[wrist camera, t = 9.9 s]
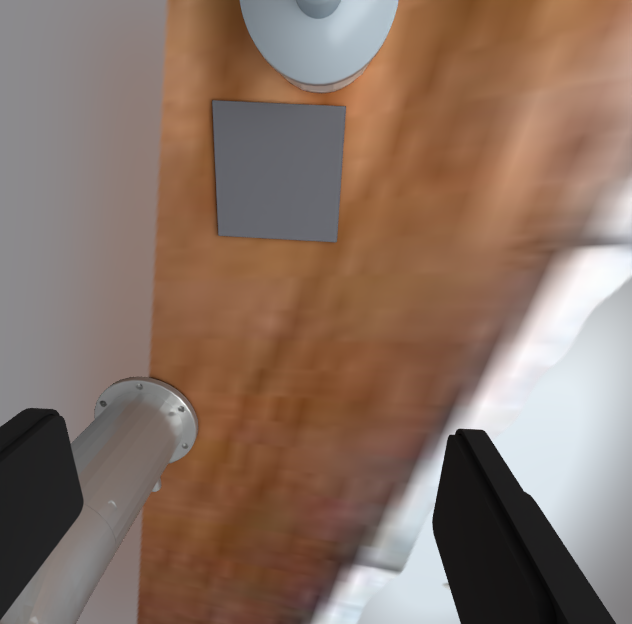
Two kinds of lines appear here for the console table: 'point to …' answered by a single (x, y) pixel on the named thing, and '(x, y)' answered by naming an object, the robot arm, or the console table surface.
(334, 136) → the mat
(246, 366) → the console table surface
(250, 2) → the lid
